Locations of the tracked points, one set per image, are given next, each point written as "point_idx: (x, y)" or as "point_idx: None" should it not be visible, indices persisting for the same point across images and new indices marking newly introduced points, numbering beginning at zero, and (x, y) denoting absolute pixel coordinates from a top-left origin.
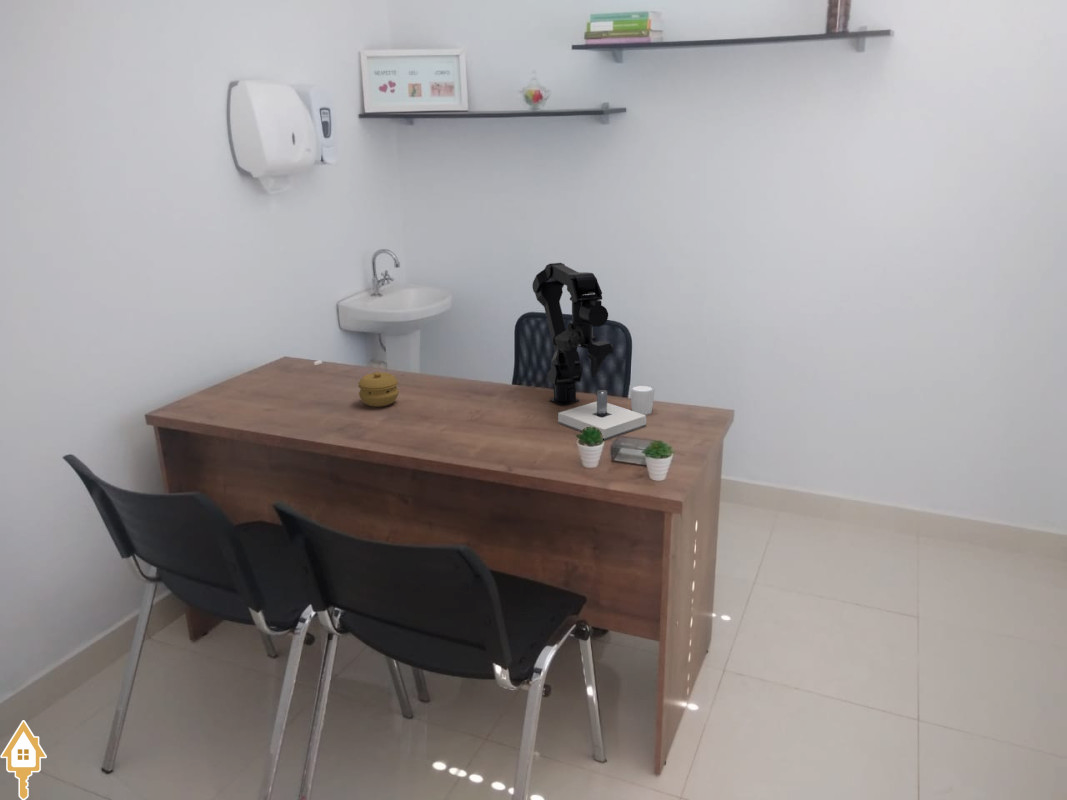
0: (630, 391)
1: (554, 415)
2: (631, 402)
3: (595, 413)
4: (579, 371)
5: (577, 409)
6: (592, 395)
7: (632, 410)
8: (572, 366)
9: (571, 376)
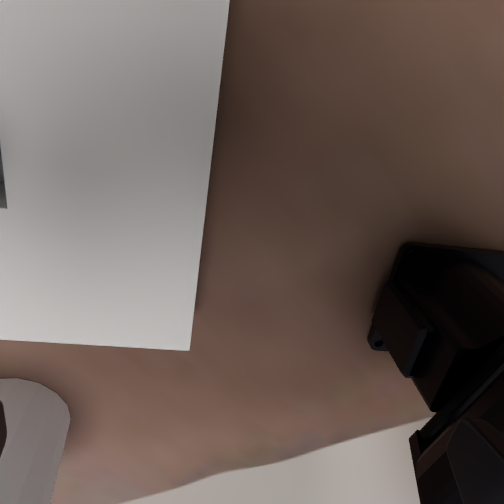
0: (20, 494)
1: (361, 66)
2: (33, 429)
3: (2, 136)
4: (426, 497)
5: (170, 110)
6: (360, 428)
7: (34, 391)
8: (477, 491)
9: (463, 417)
